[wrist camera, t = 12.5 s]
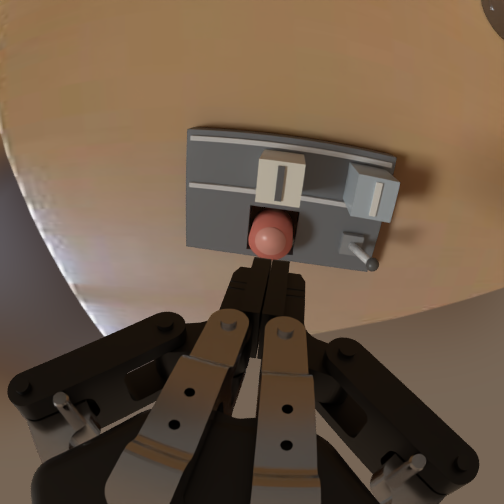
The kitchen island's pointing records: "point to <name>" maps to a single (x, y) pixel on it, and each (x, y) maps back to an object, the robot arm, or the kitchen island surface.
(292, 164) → the cream fader knob
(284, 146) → the panel
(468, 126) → the kitchen island surface
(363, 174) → the slate-blue fader knob
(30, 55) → the kitchen island surface
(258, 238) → the red push button
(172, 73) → the kitchen island surface
